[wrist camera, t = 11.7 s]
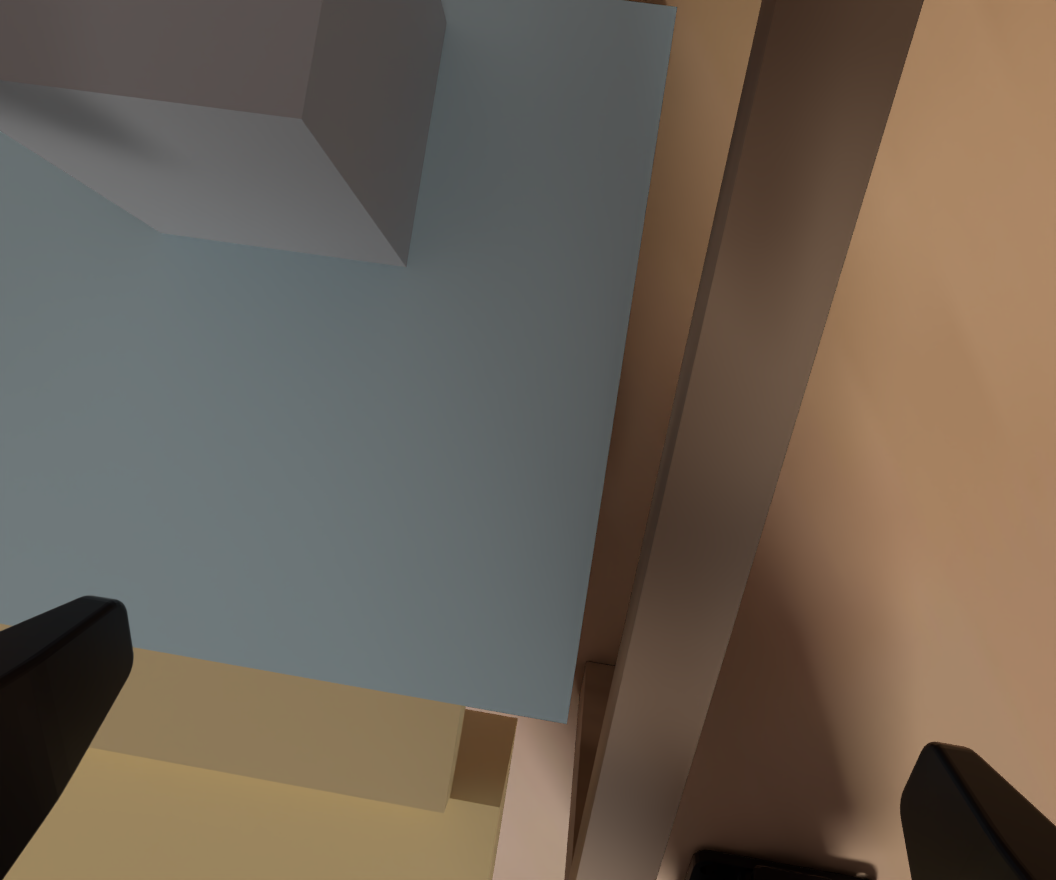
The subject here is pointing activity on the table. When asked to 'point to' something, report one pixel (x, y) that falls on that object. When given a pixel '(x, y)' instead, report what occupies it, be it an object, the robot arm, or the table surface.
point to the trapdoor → (333, 473)
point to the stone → (234, 113)
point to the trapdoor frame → (733, 408)
